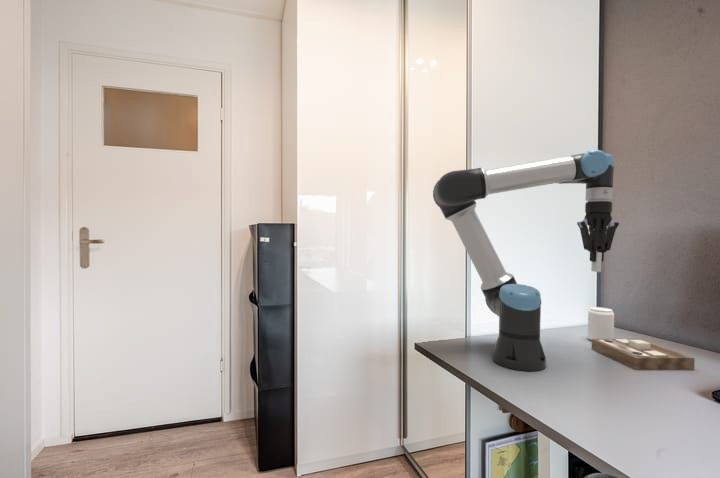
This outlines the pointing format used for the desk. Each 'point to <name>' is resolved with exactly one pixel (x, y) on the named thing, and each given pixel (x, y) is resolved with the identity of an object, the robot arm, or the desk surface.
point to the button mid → (639, 344)
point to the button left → (622, 341)
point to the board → (643, 356)
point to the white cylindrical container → (600, 323)
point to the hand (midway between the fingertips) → (596, 271)
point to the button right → (655, 353)
